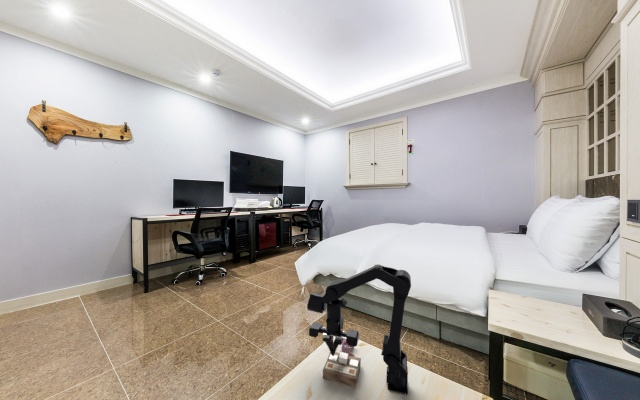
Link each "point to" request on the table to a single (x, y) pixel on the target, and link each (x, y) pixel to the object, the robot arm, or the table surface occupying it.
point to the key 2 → (354, 363)
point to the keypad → (342, 371)
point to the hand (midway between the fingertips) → (333, 355)
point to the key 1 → (333, 358)
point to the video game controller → (346, 348)
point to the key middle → (343, 358)
